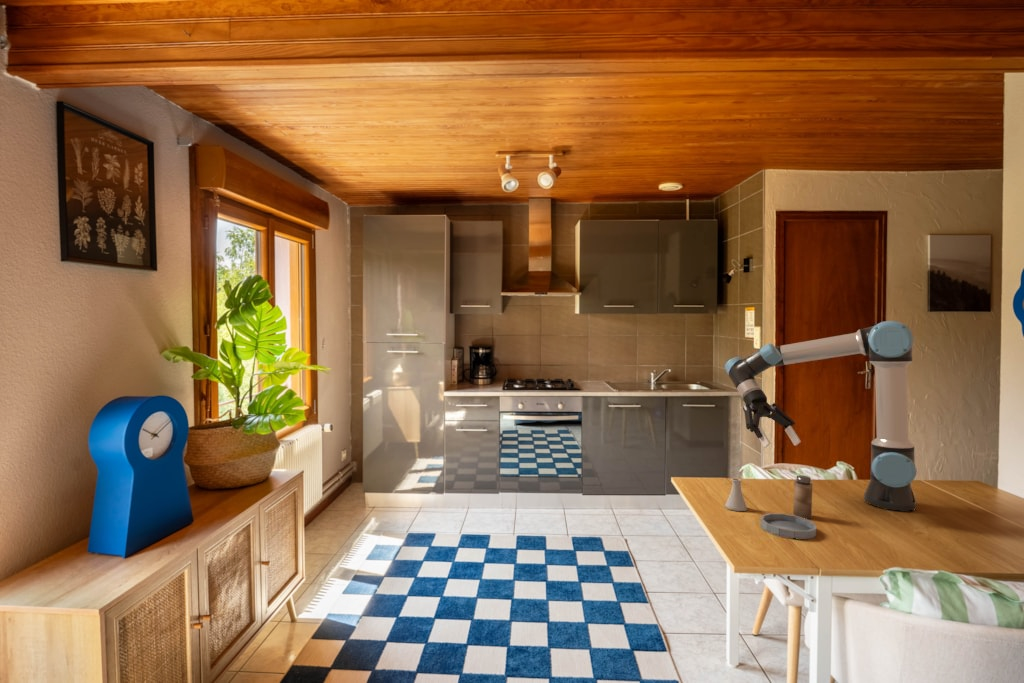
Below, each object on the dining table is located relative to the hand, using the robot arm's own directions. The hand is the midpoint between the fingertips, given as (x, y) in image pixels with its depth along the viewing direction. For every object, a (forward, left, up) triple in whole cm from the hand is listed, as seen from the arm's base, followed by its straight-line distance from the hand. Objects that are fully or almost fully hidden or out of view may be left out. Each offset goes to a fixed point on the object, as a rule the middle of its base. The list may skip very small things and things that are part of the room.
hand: (782, 444), depth 184 cm
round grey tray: (+8, +20, -22) cm, 31 cm away
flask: (+16, +1, -22) cm, 27 cm away
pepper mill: (-3, +8, -22) cm, 24 cm away
